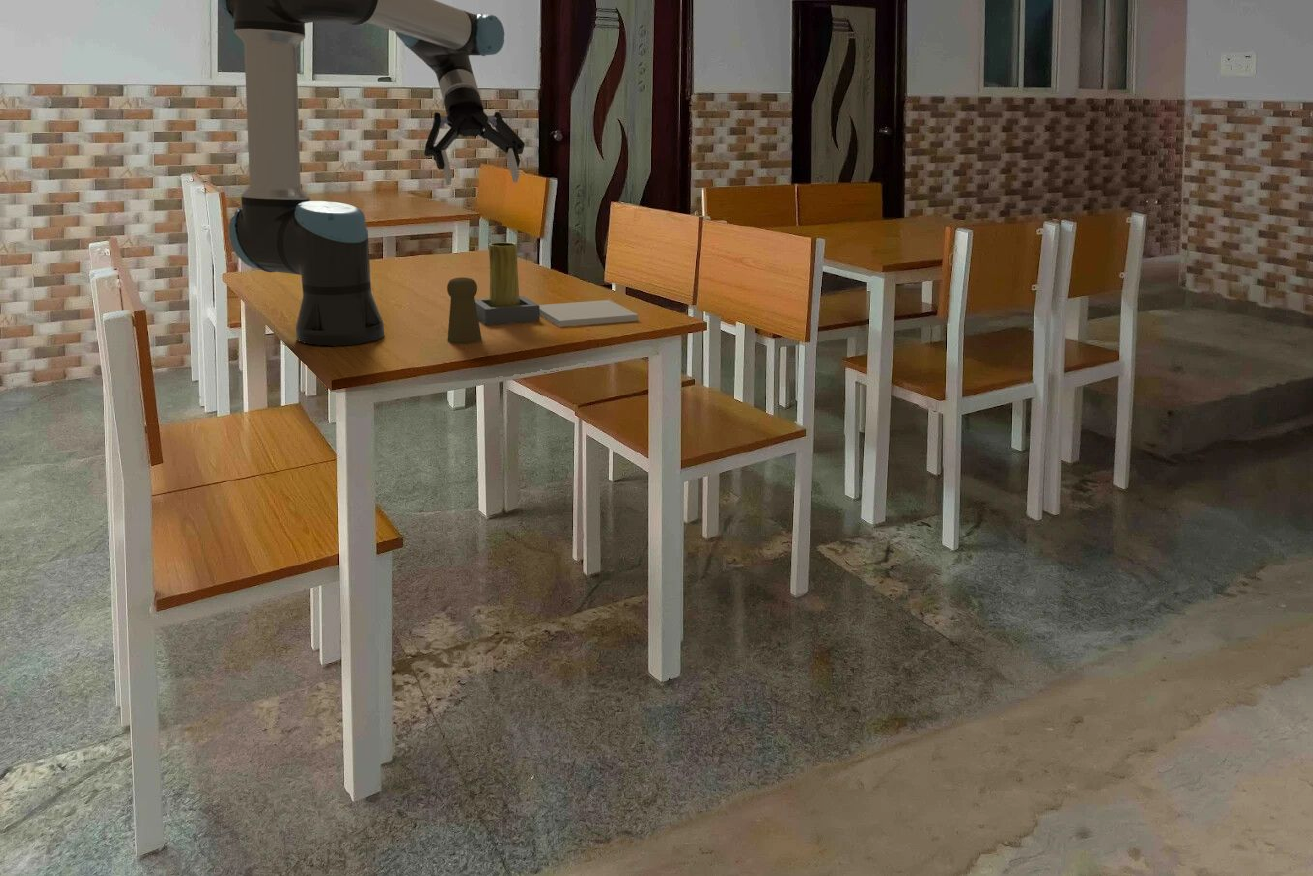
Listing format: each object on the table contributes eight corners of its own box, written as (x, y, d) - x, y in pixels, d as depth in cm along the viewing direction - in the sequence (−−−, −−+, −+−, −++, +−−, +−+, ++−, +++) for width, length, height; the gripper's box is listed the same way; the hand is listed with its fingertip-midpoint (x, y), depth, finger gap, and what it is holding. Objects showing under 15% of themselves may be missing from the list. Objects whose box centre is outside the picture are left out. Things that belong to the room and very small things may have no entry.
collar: (485, 325, 209) (485, 309, 208) (472, 314, 218) (471, 299, 217) (539, 320, 213) (539, 305, 212) (523, 310, 222) (523, 295, 221)
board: (559, 326, 208) (559, 320, 207) (534, 311, 222) (533, 305, 221) (638, 320, 214) (638, 314, 213) (608, 305, 228) (608, 299, 227)
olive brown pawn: (466, 334, 201) (463, 274, 198) (488, 339, 198) (486, 277, 194) (440, 340, 197) (436, 278, 193) (463, 345, 193) (460, 282, 190)
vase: (483, 319, 214) (480, 245, 210) (499, 313, 219) (496, 241, 215) (511, 322, 212) (509, 247, 207) (526, 316, 217) (524, 242, 213)
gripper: (517, 110, 236) (540, 189, 228) (399, 112, 227) (418, 193, 218) (523, 85, 230) (547, 164, 221) (402, 85, 220) (422, 168, 212)
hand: (483, 179), depth 220 cm, fingers open, 13 cm apart
